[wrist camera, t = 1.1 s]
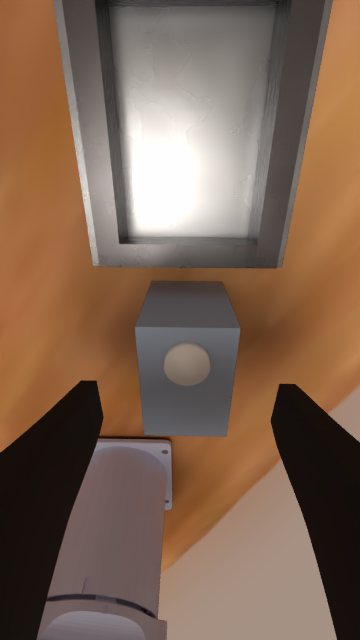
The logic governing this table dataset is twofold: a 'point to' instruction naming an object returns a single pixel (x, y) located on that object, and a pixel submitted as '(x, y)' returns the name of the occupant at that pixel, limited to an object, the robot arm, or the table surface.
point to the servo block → (186, 358)
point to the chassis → (190, 124)
